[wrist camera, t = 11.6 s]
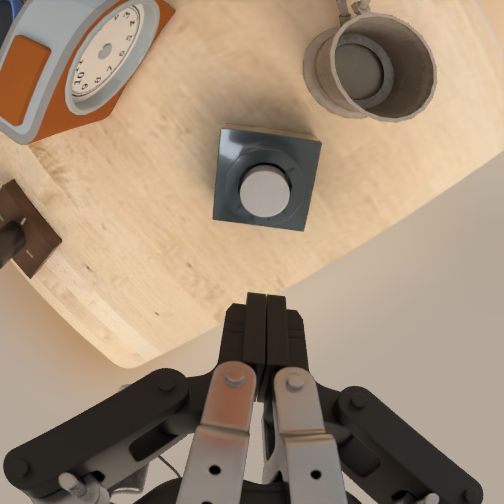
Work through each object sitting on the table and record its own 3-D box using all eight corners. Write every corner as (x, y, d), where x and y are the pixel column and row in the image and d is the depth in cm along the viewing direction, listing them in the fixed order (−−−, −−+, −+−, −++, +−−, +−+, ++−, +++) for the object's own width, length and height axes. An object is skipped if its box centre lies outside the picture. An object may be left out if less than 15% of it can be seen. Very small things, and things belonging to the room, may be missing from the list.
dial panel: (62, 240, 36) (52, 250, 34) (38, 270, 39) (29, 279, 37) (13, 179, 32) (1, 185, 29) (-6, 215, 34) (-16, 223, 32)
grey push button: (284, 211, 27) (285, 220, 25) (239, 205, 27) (237, 214, 25) (291, 168, 25) (293, 174, 23) (244, 161, 25) (242, 167, 23)
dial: (9, 215, 32) (-17, 234, 27) (28, 236, 33) (4, 258, 28) (2, 234, 33) (-22, 254, 28) (20, 254, 35) (-3, 276, 30)
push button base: (300, 215, 33) (306, 241, 28) (218, 205, 33) (208, 228, 28) (315, 135, 29) (326, 146, 24) (226, 123, 29) (217, 130, 23)
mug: (407, 106, 26) (473, 121, 16) (323, 129, 28) (356, 153, 18) (360, -17, 20) (405, -59, 9) (270, 3, 22) (272, -45, 12)
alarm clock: (106, 127, 29) (27, 158, 17) (55, 96, 26) (-28, 116, 15) (178, 11, 22) (123, -31, 11) (119, -14, 20) (47, -49, 8)
